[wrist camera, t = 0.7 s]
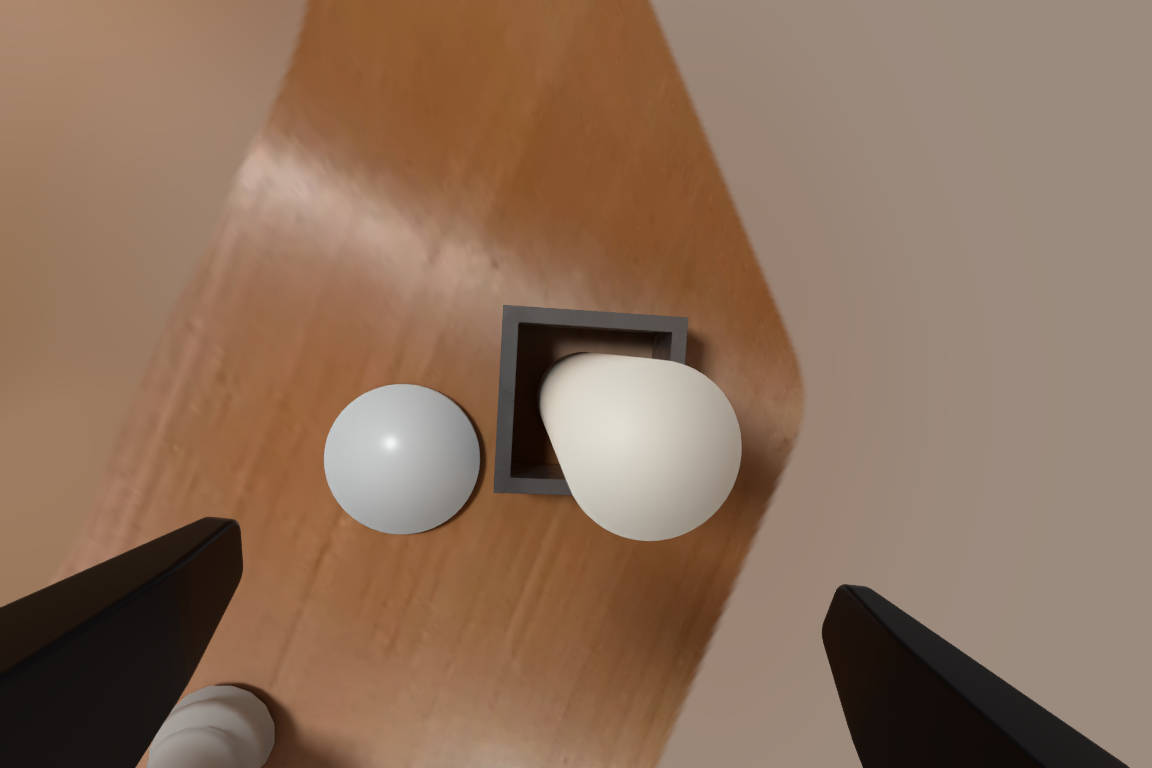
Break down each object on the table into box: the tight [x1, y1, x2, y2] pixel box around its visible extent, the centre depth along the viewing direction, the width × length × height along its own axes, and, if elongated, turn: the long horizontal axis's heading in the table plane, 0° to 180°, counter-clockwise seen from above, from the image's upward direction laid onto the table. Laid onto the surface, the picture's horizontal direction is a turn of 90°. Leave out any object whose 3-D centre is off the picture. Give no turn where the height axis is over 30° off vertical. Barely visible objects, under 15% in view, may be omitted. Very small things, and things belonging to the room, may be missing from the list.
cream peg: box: [537, 352, 742, 541], centre depth 19 cm, size 4×4×13 cm
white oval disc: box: [324, 384, 480, 534], centre depth 25 cm, size 6×6×1 cm
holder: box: [494, 305, 688, 495], centre depth 24 cm, size 7×7×3 cm
